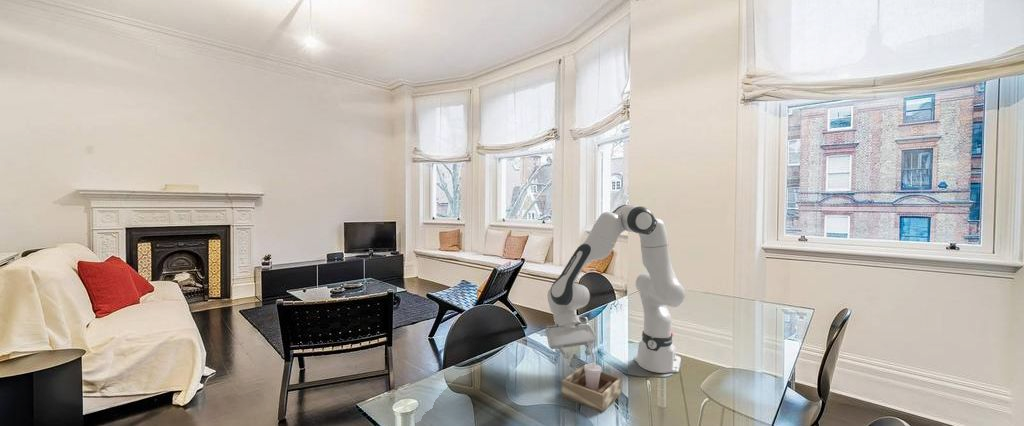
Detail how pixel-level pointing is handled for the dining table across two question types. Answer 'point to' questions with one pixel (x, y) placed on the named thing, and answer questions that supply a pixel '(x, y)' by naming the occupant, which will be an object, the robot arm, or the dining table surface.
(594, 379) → the smoothie
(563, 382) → the open wooden box
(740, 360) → the dining table surface
